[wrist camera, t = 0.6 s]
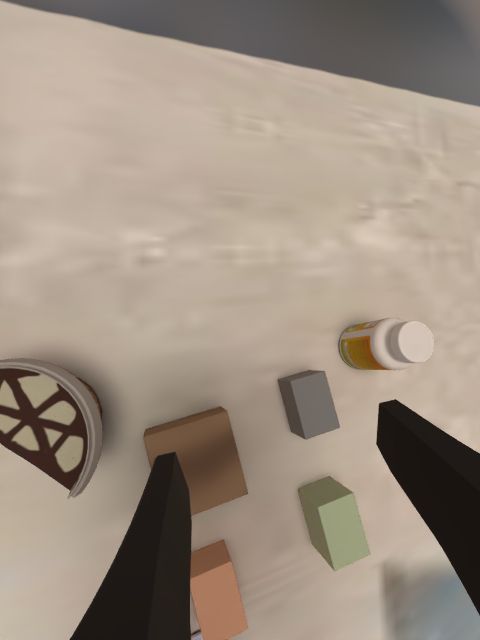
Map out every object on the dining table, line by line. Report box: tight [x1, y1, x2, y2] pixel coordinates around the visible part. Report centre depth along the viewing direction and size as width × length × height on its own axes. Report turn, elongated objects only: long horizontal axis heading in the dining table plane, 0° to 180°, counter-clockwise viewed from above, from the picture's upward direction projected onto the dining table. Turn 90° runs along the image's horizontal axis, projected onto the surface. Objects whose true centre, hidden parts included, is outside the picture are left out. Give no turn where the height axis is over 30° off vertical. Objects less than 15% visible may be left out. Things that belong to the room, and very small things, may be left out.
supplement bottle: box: [339, 318, 434, 370], centre depth 36 cm, size 5×5×10 cm
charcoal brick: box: [278, 370, 340, 439], centre depth 36 cm, size 6×4×4 cm, turn 14°
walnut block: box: [143, 406, 248, 516], centre depth 33 cm, size 8×8×4 cm
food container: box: [0, 359, 103, 499], centre depth 28 cm, size 12×6×10 cm, turn 52°
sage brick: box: [298, 476, 370, 571], centre depth 34 cm, size 6×4×5 cm, turn 15°
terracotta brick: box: [190, 540, 248, 640], centre depth 31 cm, size 6×4×4 cm, turn 15°
